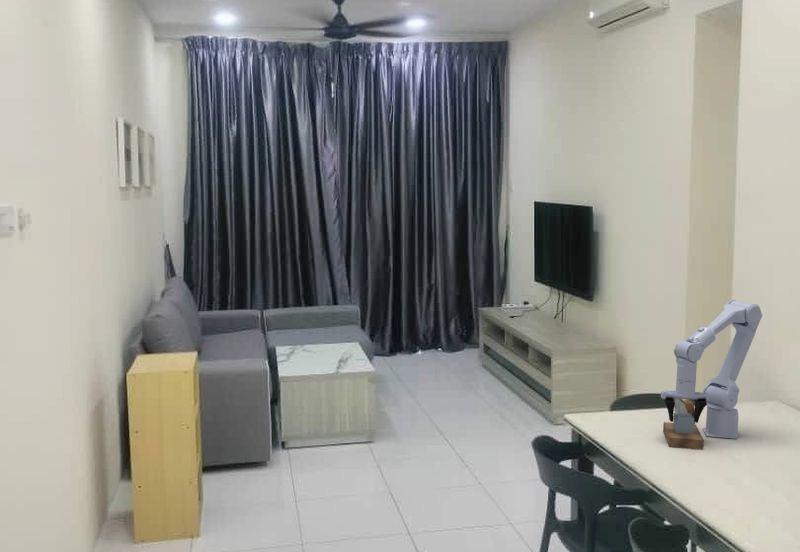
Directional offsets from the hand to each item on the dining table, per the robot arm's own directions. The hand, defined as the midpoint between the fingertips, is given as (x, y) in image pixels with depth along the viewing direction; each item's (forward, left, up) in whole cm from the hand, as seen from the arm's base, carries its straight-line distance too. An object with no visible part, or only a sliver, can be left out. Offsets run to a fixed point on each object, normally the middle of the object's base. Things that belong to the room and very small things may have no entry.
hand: (683, 421), depth 256 cm
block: (0, 0, -3) cm, 3 cm away
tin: (-3, -20, -6) cm, 21 cm away
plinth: (0, 0, -6) cm, 6 cm away
